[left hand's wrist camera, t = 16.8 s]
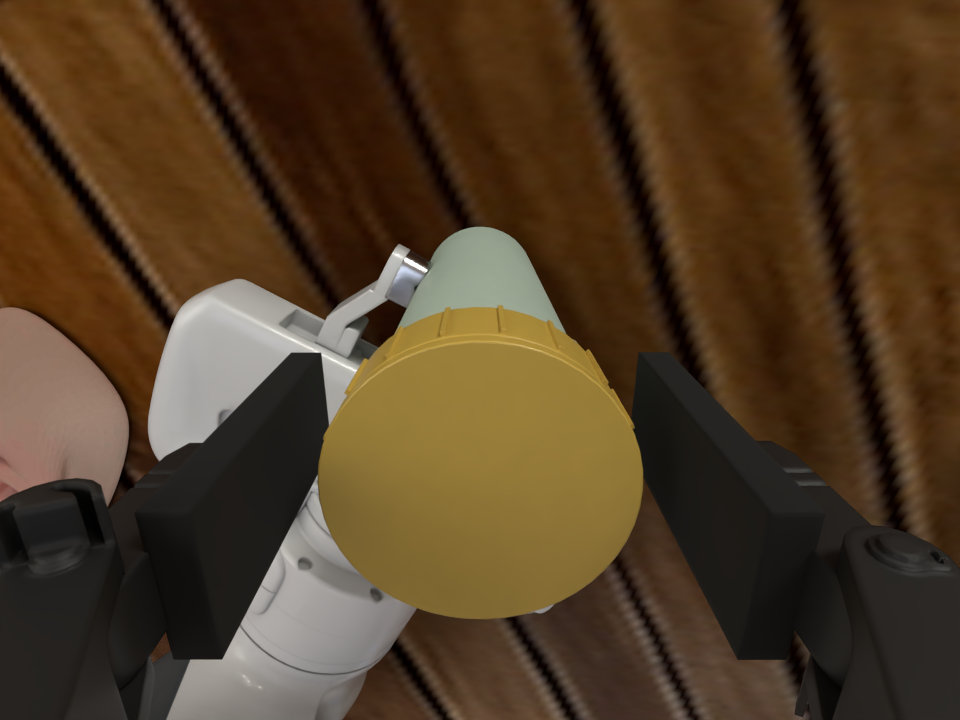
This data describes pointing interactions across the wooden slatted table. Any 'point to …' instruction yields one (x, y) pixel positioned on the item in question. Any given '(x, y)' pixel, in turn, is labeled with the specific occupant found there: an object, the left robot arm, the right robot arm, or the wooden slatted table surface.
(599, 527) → the lid
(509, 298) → the pale green bottle
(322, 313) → the wooden slatted table surface
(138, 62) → the wooden slatted table surface
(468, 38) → the wooden slatted table surface
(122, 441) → the anatomical model
